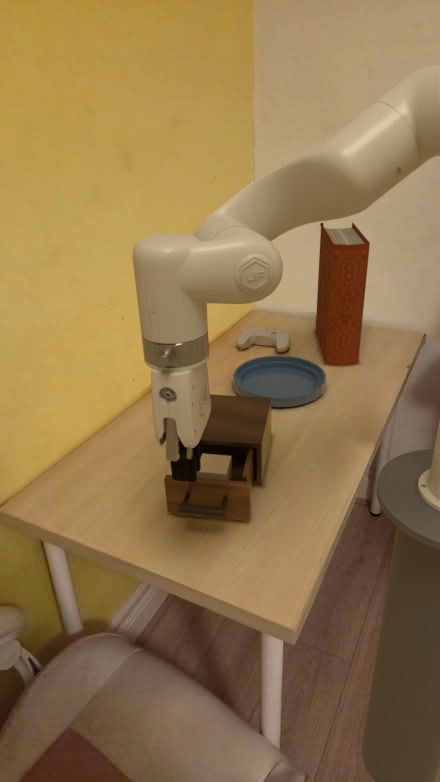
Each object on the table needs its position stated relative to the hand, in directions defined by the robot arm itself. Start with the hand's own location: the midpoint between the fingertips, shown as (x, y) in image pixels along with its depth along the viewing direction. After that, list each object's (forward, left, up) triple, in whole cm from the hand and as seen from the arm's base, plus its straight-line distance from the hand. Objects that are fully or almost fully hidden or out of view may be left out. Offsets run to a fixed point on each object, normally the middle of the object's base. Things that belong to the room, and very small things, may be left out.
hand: (186, 474), depth 70 cm
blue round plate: (-7, -57, -17) cm, 60 cm away
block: (0, -16, -15) cm, 22 cm away
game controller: (-1, -79, -17) cm, 81 cm away
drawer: (0, -15, -16) cm, 22 cm away
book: (-20, -81, -17) cm, 85 cm away
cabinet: (0, -28, -17) cm, 33 cm away
